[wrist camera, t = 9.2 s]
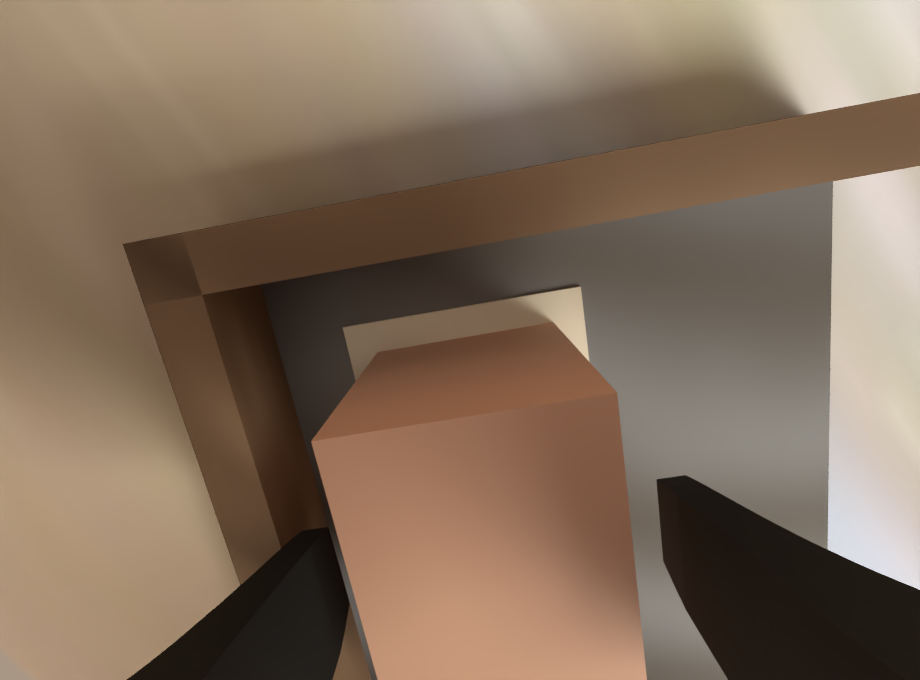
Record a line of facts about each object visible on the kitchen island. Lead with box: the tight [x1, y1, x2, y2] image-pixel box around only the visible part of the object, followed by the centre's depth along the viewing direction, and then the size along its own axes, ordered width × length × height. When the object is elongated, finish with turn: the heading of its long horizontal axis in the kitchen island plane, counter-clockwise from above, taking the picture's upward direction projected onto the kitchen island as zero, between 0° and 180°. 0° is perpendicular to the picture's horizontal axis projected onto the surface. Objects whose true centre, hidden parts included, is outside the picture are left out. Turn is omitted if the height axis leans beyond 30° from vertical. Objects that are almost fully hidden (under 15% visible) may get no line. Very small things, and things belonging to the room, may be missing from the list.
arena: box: [123, 93, 920, 680], centre depth 12 cm, size 18×15×3 cm
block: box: [311, 322, 647, 680], centre depth 10 cm, size 4×8×5 cm, turn 10°
